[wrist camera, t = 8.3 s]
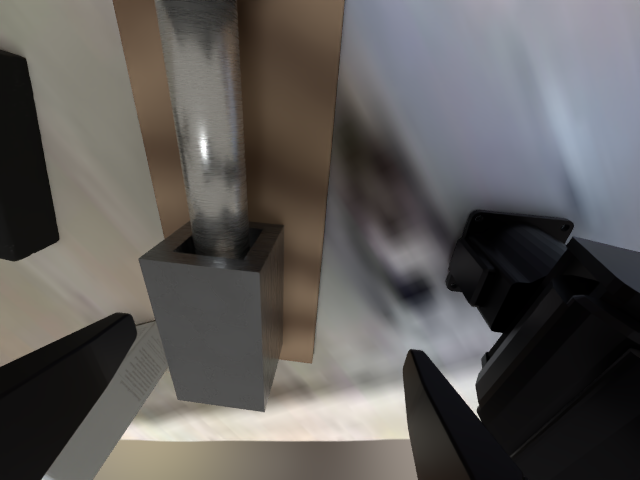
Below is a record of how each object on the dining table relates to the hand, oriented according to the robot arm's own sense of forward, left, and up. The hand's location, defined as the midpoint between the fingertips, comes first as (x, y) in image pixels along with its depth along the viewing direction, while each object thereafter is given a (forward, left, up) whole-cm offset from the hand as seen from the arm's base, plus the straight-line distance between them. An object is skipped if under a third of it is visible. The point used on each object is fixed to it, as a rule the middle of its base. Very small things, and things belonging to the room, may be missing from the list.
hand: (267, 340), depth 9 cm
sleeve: (+5, +7, -12) cm, 15 cm away
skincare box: (+16, +16, -12) cm, 26 cm away
